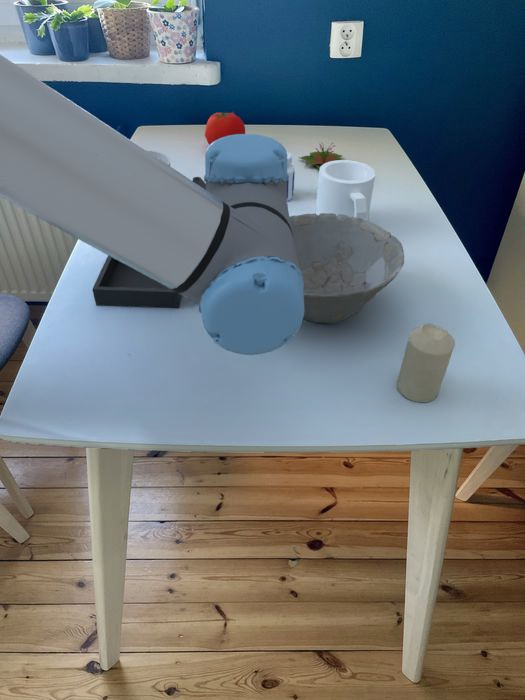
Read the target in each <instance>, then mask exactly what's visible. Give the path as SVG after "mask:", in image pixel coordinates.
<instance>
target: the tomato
mask: <svg viewBox="0 0 525 700" xmlns="http://www.w3.org/2000/svg"><path fill="white" fill-rule="evenodd" d="M235 112H236V111H231V112H215V113H213V114H212V115H210V116H209V118H208V120H207V122H206V125H205V129H204V137H205V140H206V141H207V144H208V145H209V146H210V144H211V143H213V142H214V141H216V140H218V139H220V138H222V137H225V136H230V135H236V134H246V126H245V123H244V121H243V120H242V119H241V117H240V116H238V115H236V114H235Z"/></svg>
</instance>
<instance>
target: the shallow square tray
mask: <svg viewBox="0 0 525 700" xmlns="http://www.w3.org/2000/svg"><path fill="white" fill-rule="evenodd" d="M91 289H92V294H93V298H94V303H95V306H101V307H103V306H105V307H106V306H107V307H128V308H129V307H131V308H132V307H133V308H134V307H135V308H156V309H157V308H162V309H179V308H180V305H181V301H182V298H183V296H182V295H181V294H179V293H177V292H175V291H174V290H172V289H170V288H168V287H166V286H164V285H162V284H161V283H159V282H157V281H155V280H153V279H151V278H150V277H148V276H146V275H144V274H142V273H140V272H138V271H137V270H135V269H133V268H131V267H129V266H127V265H125V264H124V263H122V262H120V261H118V260H116V259H114V258H112V257H111V256H109V255H107V257H106V259H105V261H104V263H103V265H102V267H101V270H100V272H99V274H98V276H97V278H96V280H95V283H94V284H93V287H92V288H91Z"/></svg>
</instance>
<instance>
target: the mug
mask: <svg viewBox="0 0 525 700" xmlns="http://www.w3.org/2000/svg"><path fill="white" fill-rule="evenodd" d="M375 179H376V170H375V169H374V168H373V167H372V166H370V165H368V164H366V163H363V162H361V161H356V160H349V159H344V160H335V161H330V162H327V163H325V164H323V165H322V166H321V167H320V169H318V181H317V191H316V203H315V213H314V214H317V215H319V214H321V213H325V214H331V213H333V214H336V216H337V215H338V214H341V215H347V216H349V217H350V218H351V217H356V218H361V219H363V220H366V221H369V216H370V210H371V203H372V197H373V191H374V185H375Z"/></svg>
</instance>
